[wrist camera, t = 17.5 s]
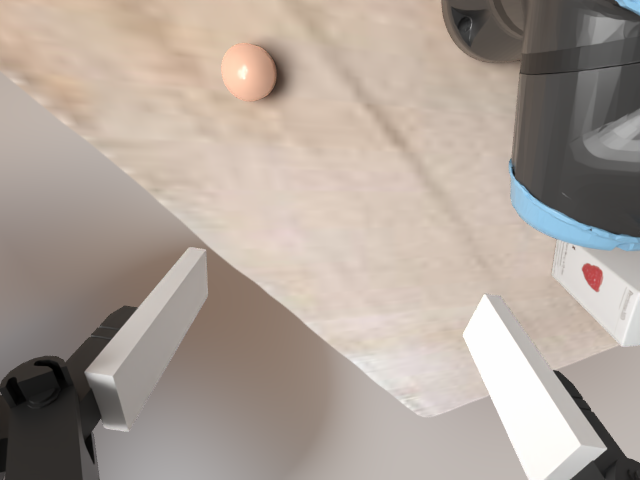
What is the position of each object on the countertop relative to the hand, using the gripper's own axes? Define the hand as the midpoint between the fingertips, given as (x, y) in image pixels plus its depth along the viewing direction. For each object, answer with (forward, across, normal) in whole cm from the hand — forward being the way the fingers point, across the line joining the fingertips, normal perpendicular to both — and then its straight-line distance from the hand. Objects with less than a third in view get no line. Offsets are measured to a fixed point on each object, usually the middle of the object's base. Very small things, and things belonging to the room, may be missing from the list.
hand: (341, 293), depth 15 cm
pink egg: (+32, +12, -7) cm, 35 cm away
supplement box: (+32, -40, +9) cm, 52 cm away
